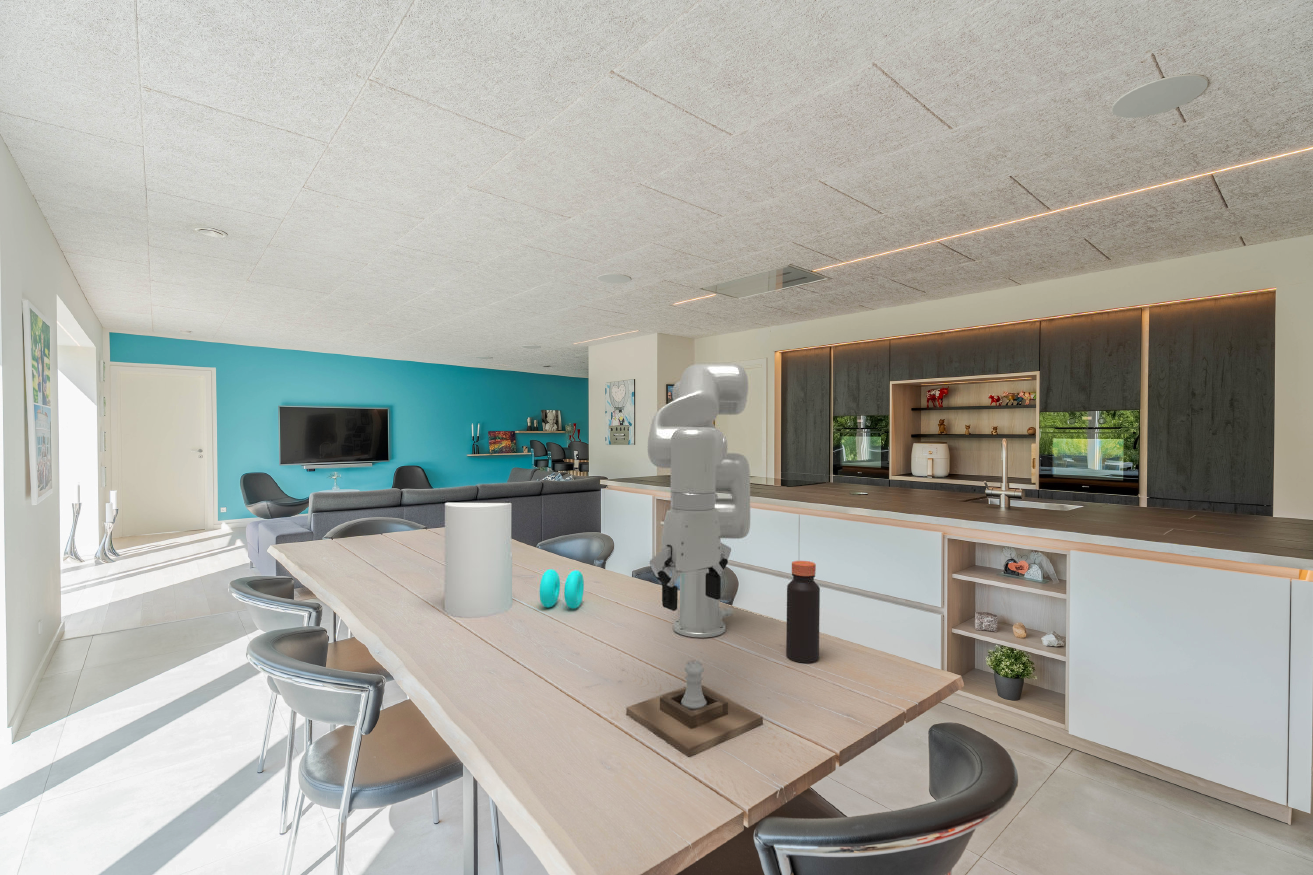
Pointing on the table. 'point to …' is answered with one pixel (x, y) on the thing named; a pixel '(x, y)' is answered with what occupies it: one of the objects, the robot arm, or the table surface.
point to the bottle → (803, 614)
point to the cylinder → (478, 559)
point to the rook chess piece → (693, 687)
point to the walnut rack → (694, 720)
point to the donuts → (552, 588)
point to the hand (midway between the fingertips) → (691, 602)
